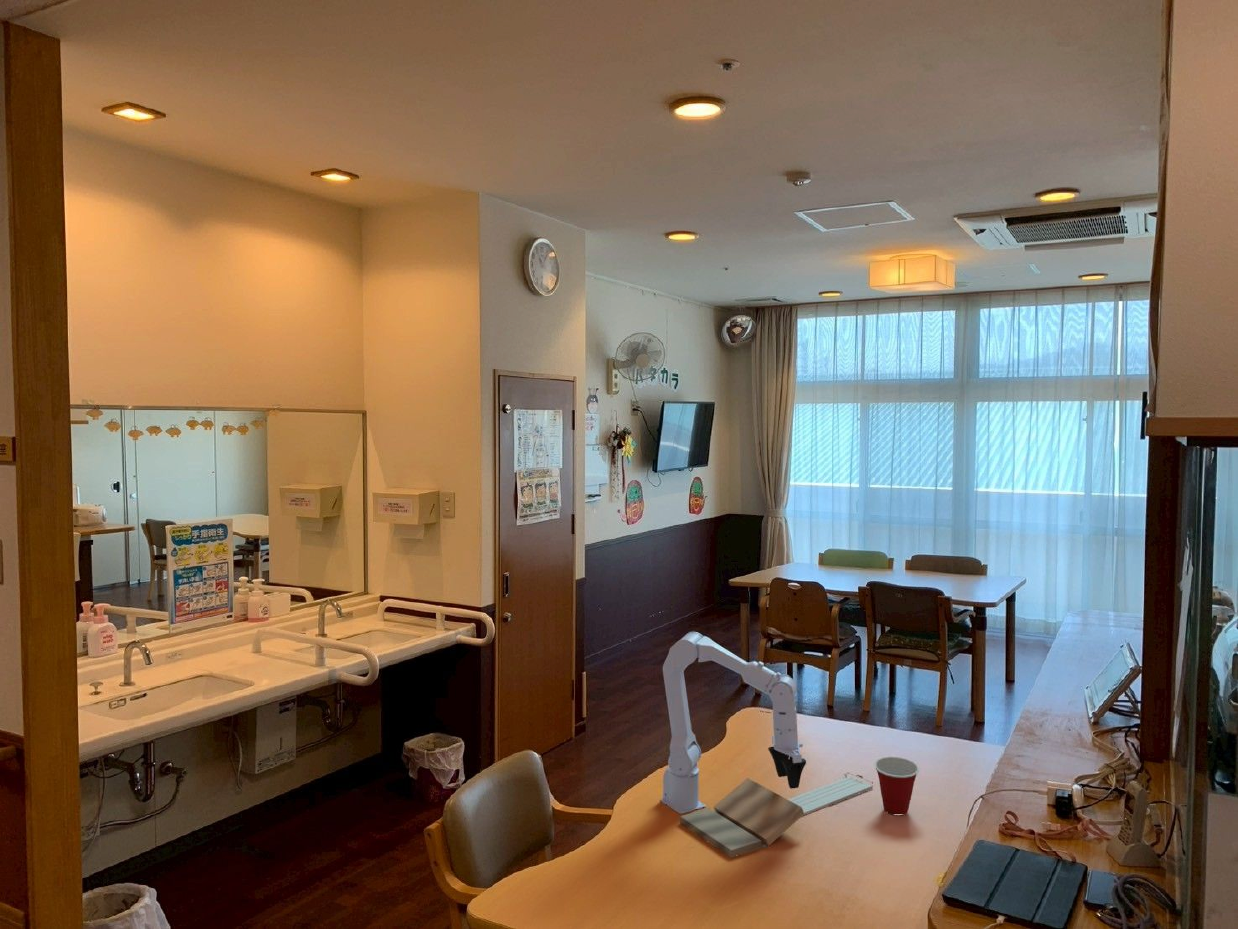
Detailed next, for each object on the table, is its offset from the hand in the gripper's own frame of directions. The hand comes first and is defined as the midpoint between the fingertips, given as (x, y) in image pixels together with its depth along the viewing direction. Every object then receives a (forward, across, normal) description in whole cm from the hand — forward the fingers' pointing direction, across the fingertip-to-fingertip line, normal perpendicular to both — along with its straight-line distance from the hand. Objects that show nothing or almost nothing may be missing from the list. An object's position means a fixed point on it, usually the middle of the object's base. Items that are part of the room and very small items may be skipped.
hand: (788, 781), depth 221 cm
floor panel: (+9, -4, +19) cm, 22 cm away
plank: (+7, 0, +8) cm, 10 cm away
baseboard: (+11, +13, -14) cm, 22 cm away
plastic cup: (+12, +1, -29) cm, 31 cm away
